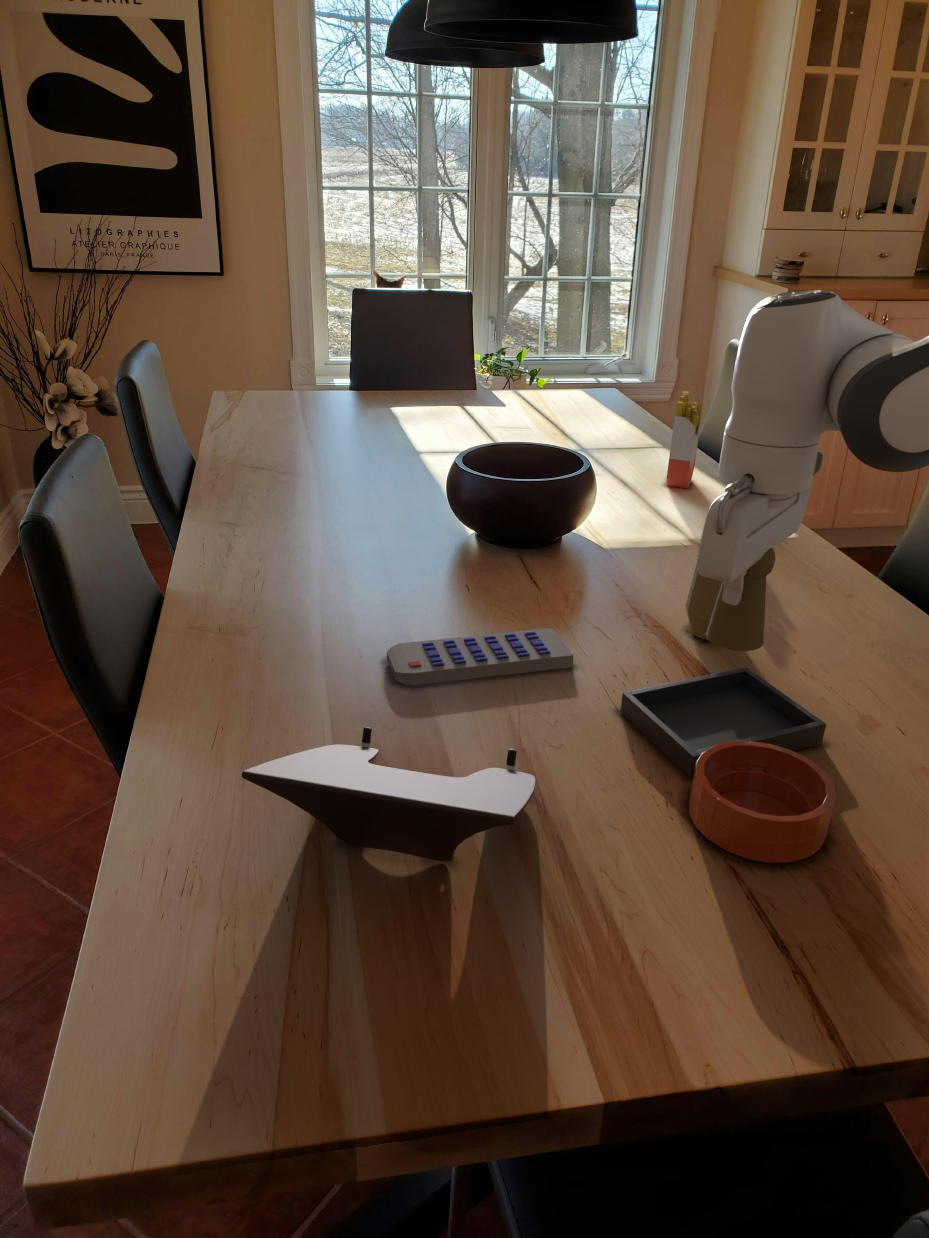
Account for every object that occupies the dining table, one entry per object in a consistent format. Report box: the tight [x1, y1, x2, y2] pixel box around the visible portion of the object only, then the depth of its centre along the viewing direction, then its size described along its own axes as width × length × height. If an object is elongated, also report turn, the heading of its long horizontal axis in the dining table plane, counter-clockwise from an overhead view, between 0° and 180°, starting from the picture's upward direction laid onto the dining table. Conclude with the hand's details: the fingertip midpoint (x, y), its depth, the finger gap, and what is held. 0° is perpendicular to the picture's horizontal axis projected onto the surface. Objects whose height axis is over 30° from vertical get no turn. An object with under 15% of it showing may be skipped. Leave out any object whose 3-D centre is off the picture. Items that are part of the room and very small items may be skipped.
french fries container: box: [666, 390, 703, 490], centre depth 181 cm, size 5×11×18 cm, turn 160°
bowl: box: [688, 741, 837, 864], centre depth 86 cm, size 13×13×5 cm
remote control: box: [386, 627, 574, 687], centre depth 114 cm, size 8×23×2 cm, turn 106°
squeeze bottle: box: [685, 563, 722, 641], centre depth 119 cm, size 8×8×18 cm
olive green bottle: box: [706, 548, 776, 652], centre depth 94 cm, size 6×6×11 cm
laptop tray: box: [241, 726, 536, 863], centre depth 83 cm, size 23×23×9 cm
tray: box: [619, 667, 827, 778], centre depth 101 cm, size 18×14×3 cm
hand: (742, 593), depth 94 cm, fingers closed on olive green bottle, 4 cm apart
